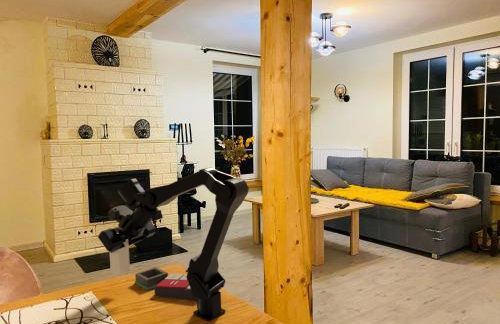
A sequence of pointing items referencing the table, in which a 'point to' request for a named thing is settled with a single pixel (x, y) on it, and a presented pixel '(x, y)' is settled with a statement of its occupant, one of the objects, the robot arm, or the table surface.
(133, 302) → the table surface
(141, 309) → the table surface
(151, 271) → the grey and green tray
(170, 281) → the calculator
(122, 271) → the plug
